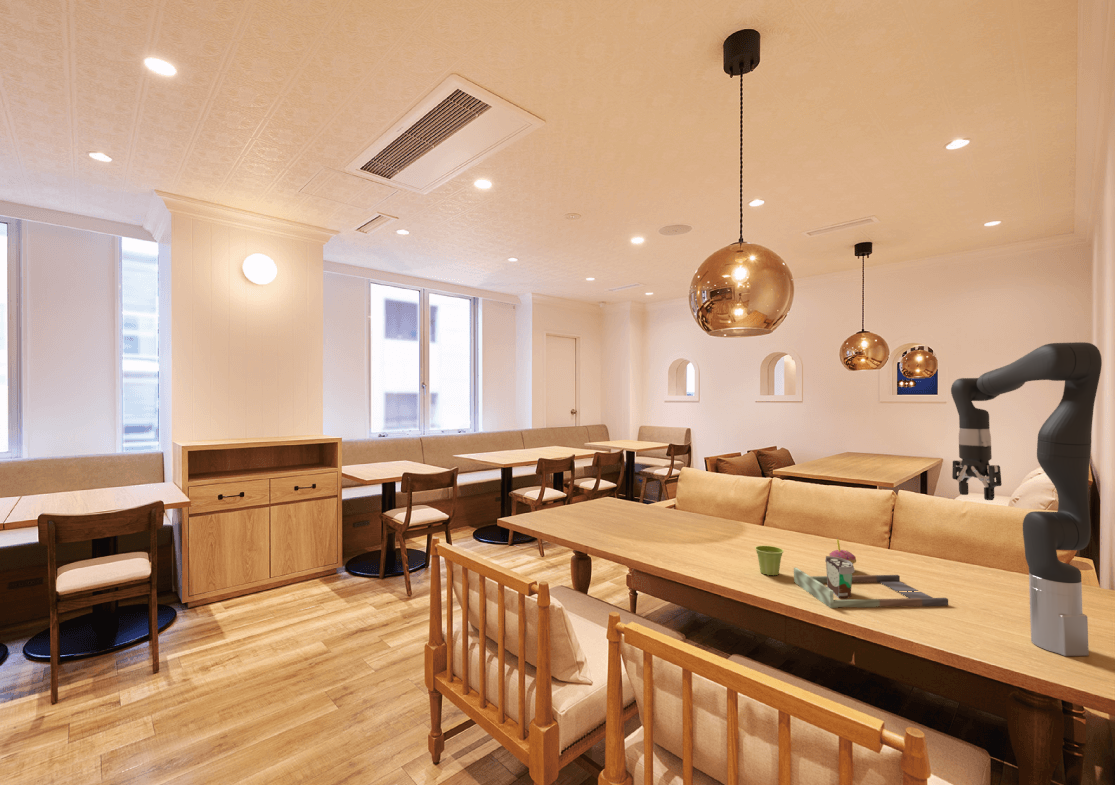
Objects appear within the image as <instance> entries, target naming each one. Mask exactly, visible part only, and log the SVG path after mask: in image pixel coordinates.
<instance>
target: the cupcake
mask: <svg viewBox="0 0 1115 785" xmlns="http://www.w3.org/2000/svg"><path fill="white" fill-rule="evenodd" d="M836 544H837V549H836V550H833V551H831V552H830V553H829V554H828V556H831V557H838V558H842V559H845V560H848V561H850V562H851V563H852V564H853V565H854V564H855V563H857V559H856V556H855V555H854V554H853V553H852V552H850V551H849V550H844V549H841V547H840V546H841V545H840V544H841V543H840V540H839V538H838V537H836Z"/></svg>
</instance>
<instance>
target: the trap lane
mask: <svg viewBox="0 0 1115 785" xmlns="http://www.w3.org/2000/svg"><path fill="white" fill-rule="evenodd" d="M794 582H795V583H796V584H795V583H794ZM854 582H860V583H879V582H880V583H879V584H881V583H882V584H881V585H883V584H884V585H883V586H885V585H886V586H888V587H890V588H892V589H893V590H892V589H891V590H892V591H894V590H895V592H896V591H898V592H897V593H899V594H900V593H901V594H900V595H902V594H903V595H902V596H904V595H905V596H906V597H905V596H904V597H905V598H903V597H902V598H860V599H859V598H858V599H854V598H853V599H850V598H849V599H834V593H833V590H831V589H829V588H828V587H827V585H825V584H827V575H824V576H823V575H817V576H815V575H812V576H811V575H809V574H807V573H806V572H804V571H803V570H801V569H799V568H798V567H793V583H794V584H795V585H797V584H798V585H799V586H798V585H797V586H798V587H800V588H801V587H802V588H803V590H804V591H805V590H806V591H805V592H807V593H808V592H809V593H808V594H809V595H811V594H812V595H813V596H812V595H811V596H812V597H814V598H815V597H816V598H815V599H817V600H818V601H819V602H821V603H822V602H823V604H824V605H825V604H826V605H825V606H827V607H828V608H829V609H839V608H838V607H857V608H882V607H881V606H908V607H946V606H945V605H948V606H949V598H947V597H933V596H930V595H928V594H926V593H925V592H923V591H919V590H918V589H916V588H914V587H912V586H910V585H908V584H906V583H904V582H902V581H901V580H900V575H899V574H875V575H874V574H873V575H872V574H871V575H870V574H869V575H866V574H865V575H863V574H862V575H852V584H853V583H854ZM886 586H885V587H886ZM888 587H887V588H888ZM890 588H889V589H890ZM899 591H907V592H899ZM908 591H912V592H908ZM914 591H919V592H914ZM907 597H908V598H907ZM876 606H877V607H876ZM878 606H880V607H878Z"/></svg>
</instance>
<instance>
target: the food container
mask: <svg viewBox="0 0 1115 785" xmlns="http://www.w3.org/2000/svg"><path fill="white" fill-rule="evenodd" d="M825 563H826V564H825V566H826V568H825V569H826V576H827V583H826V587H828V588H829V589H831V590H833V595H834V596H836V597H837V598H838V599H848V597H849V598H851V596H852V584H853V583H852V576H853V573H855V571H856V570H855V566H854V563H853V564H852V563H851V562H850V561H848V560H845V559H842V558H838V557H831V556H829V555H825Z"/></svg>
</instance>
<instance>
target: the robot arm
mask: <svg viewBox="0 0 1115 785" xmlns="http://www.w3.org/2000/svg"><path fill="white" fill-rule="evenodd" d="M1102 362H1103V361H1102V355H1101V352H1100V350H1099V348H1098V347H1097V346H1096V345H1095V344H1093V343H1091V342H1081V341H1079V342H1054V343H1052V342H1051V343H1047V344H1044V345H1041V346H1039V347H1037V348H1035V349H1033V350H1031V351H1030V352H1028V353H1027V354H1025V355H1024V356H1022V357H1020V358H1018V359H1016V360H1015V361H1013V362H1011V363H1009V364H1007V365H1005V366H1002V367H999V368H998V367H997V368H996V369H993V370H989V371H986V372H984V373H982V374H981V375H979V377H967V378H966V377H961V378H960V377H959V378H958V379H956V380H954V381H953V383H952V385H951V388H950V394H951V397H952V399H953V403H954V404H955V407H956V411H957V414H958V421H959V422H958V424H959V430H958V431H959V432H958V457H959V460H952V471H951V472H952V473H951V476H952V477H951V478H952V479H953V480H956V481H957V482H958V492H959V495H962V496H967V495H969V480H970V479H971V478H974V479H975V478H977V479H978V481H980V482H981V483H982V484H983V486H984V487H983V499H984V500H985V501H994V499H995V488H996V487H1001V486H1002V473H1001V472H1002V471H1001V466H1000V465H999V464H998V465H997V464H995V465H993V464H992V465H991V464H990V460H993V459H992V457H993V456H992V435H991V431H990V430H991V429H990V414H989V411H987V409H986V410H985V409H982V408H977V407H976V406H975V405H974V403H973V402H987V401H991V400H994V399H995V398H997V397H998V396H1000V395H1002V394H1006V393H1011V392H1013V391H1016V390H1018V389H1020V388H1022V387H1023V385H1025V383H1026V382H1032V381H1046V380H1047V381H1051V382H1052V381H1053V382H1056V381H1057V382H1059V381H1060V382H1061V381H1063V382H1064V386H1063V393H1062V397H1061V400H1060V402H1059V403H1058V405H1057V406H1056V408H1055V409H1054V410H1053V412H1051V414H1050V415H1049V416H1048V418H1047V419H1046V420H1045V421H1044V422H1043V424H1042V425H1041V427H1040V429H1039V431H1038V434H1037V441H1036V442H1037V443H1036V447H1037V448H1036V458H1037V462H1038V464H1039V466H1040V467H1041V469H1042V470H1043V472H1044V473H1045V475H1046V476H1047V477H1048V478H1049V481H1050V482H1051V483H1052V485H1053V486H1054V488H1055V490H1056V495H1057V501H1058V502H1057V503H1058V504H1057V511H1042V510H1041V511H1037V510H1036V511H1030V512H1028V513H1026V515H1025V516H1024V518H1023V521H1022V536H1023V537H1022V538H1023V544H1024V545H1023V547H1024V557H1025V560H1026V563H1027V566H1028V580H1029V581H1028V586H1029V588H1028V589H1029V617H1030V619H1029V620H1030V621H1029V622H1030V641H1031V643H1033V645H1035V646H1037V647H1039V648H1041V649H1044V650H1046V651H1048V652H1049V651H1050V652H1052V653H1056V654H1059V655H1061V656H1064V657H1076V656H1077V657H1078V656H1085V657H1086V656H1089V655H1090V654H1089V650H1090V649H1089V624H1088V623H1089V622H1088V615H1087V614H1084V613H1083V590H1082V589H1083V586H1082V585H1083V583H1082V581H1083V580H1082V572H1081V570H1080V569H1079V568H1078V567H1076V566H1073V565H1071V564H1069V563H1067V562H1062V561H1061V560H1060V559H1059V557H1058V552H1057V551H1082V550H1084V549H1085V548H1087V547H1088V545H1089V544H1090V539H1091V534H1092V533H1091V531H1092V529H1091V516H1090V514H1091V513H1090V502H1089V478H1090V464H1091V463H1090V462H1091V458H1092V456H1091V455H1092V452H1091V451H1092V428H1093V419H1094V407H1095V403H1096V397H1097V393H1098V387H1099V383H1100V382H1099V381H1100V378H1101V372H1102Z"/></svg>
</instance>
